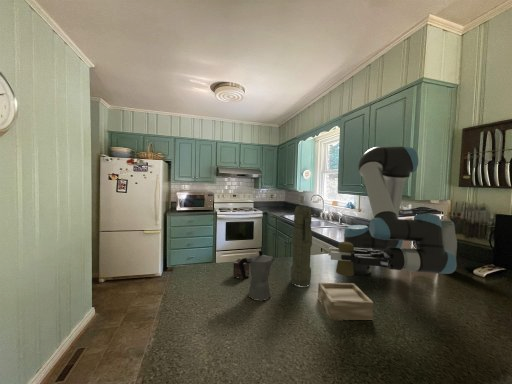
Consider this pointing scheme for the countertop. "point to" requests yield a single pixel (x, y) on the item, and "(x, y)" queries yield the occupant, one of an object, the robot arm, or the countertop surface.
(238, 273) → the box
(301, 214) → the thermos
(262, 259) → the coffeepot
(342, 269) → the cork
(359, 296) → the oak stand
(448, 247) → the grey rounded cylinder
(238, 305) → the countertop surface
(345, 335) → the countertop surface
